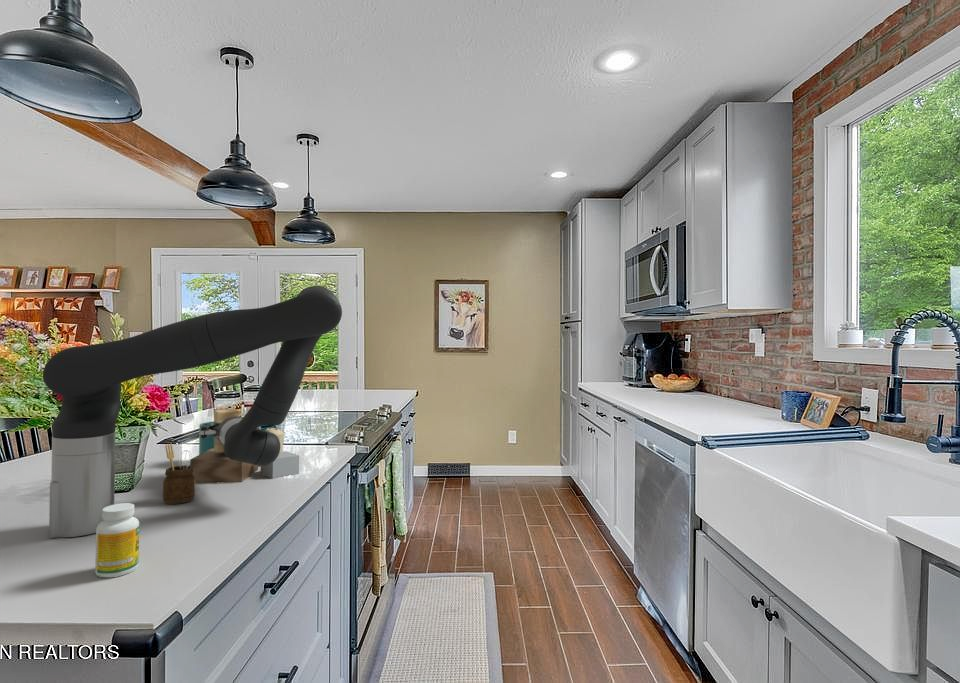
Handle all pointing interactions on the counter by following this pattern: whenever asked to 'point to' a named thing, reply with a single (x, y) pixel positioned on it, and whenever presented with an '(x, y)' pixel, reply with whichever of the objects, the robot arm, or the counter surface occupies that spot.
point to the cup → (205, 441)
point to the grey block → (282, 466)
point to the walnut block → (219, 468)
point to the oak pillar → (219, 417)
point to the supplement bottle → (117, 541)
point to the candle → (278, 434)
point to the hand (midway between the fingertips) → (224, 425)
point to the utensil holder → (178, 481)
